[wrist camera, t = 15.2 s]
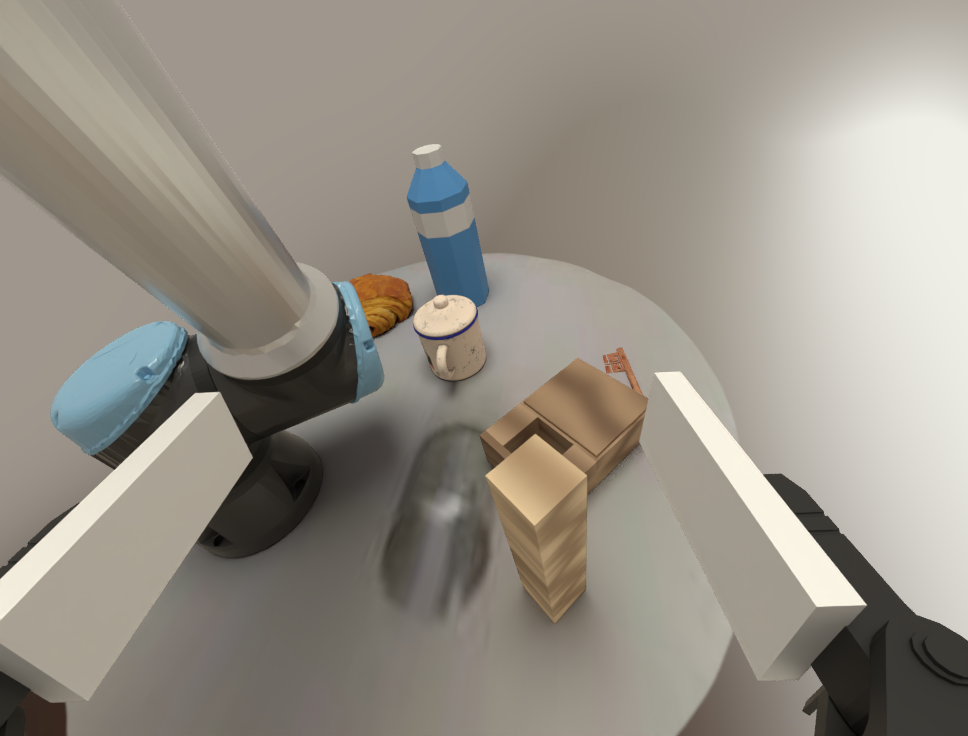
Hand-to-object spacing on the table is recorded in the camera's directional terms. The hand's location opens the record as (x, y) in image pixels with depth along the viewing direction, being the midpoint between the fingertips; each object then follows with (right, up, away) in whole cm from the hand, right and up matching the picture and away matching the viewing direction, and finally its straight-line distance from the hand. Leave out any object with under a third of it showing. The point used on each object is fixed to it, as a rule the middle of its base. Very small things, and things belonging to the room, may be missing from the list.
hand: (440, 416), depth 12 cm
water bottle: (-2, +14, +60) cm, 61 cm away
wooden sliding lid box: (+11, -8, +34) cm, 36 cm away
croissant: (-18, +11, +61) cm, 65 cm away
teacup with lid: (-3, +1, +47) cm, 47 cm away
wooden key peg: (+8, -18, +23) cm, 31 cm away
